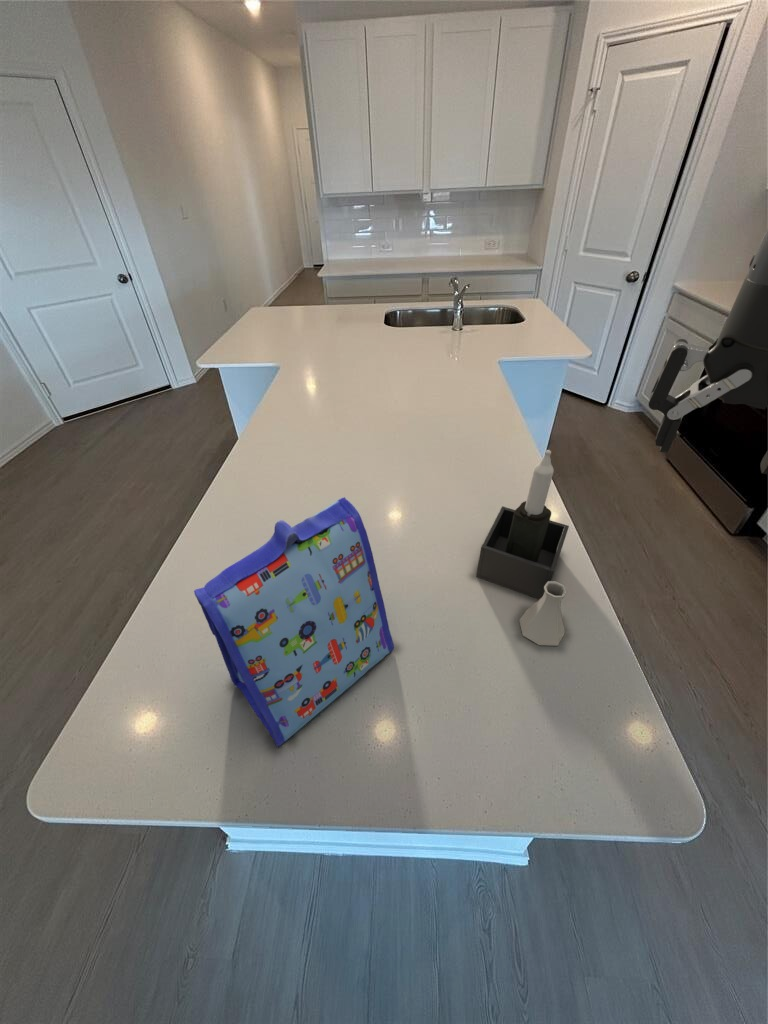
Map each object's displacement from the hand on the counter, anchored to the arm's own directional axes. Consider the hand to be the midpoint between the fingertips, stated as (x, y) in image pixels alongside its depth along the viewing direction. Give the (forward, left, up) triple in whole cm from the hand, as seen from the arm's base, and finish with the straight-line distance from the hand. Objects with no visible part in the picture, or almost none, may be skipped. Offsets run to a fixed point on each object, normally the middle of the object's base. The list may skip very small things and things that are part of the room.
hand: (712, 459), depth 43 cm
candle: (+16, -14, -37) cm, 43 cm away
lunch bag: (+38, +21, -38) cm, 58 cm away
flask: (+9, -2, -38) cm, 39 cm away
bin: (+16, -14, -38) cm, 43 cm away
